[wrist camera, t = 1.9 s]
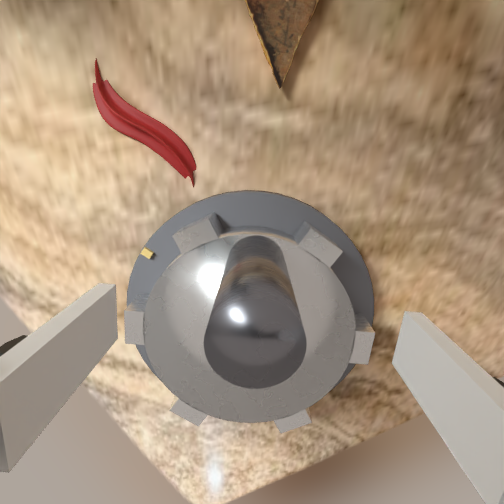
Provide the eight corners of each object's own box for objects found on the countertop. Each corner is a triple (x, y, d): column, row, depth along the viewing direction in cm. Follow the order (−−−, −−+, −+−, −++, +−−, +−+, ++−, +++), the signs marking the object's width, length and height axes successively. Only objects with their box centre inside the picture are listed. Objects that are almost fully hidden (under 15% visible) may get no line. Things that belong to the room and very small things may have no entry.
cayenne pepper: (75, 70, 23) (59, 62, 22) (125, 36, 23) (113, 25, 21) (162, 209, 26) (155, 213, 24) (209, 182, 26) (205, 184, 24)
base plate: (133, 179, 25) (121, 180, 23) (388, 202, 25) (401, 206, 23) (137, 391, 31) (128, 408, 29) (343, 408, 31) (350, 427, 29)
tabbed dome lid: (137, 204, 24) (3, 255, 11) (380, 227, 24) (516, 301, 11) (140, 394, 29) (51, 575, 16) (341, 411, 29) (405, 603, 16)
